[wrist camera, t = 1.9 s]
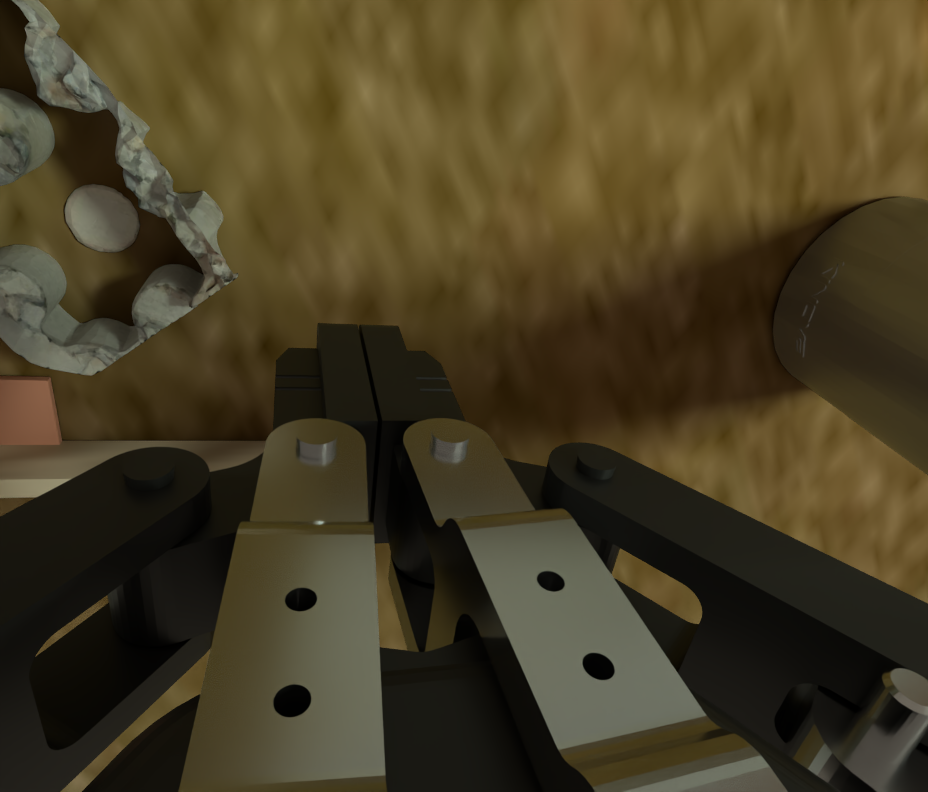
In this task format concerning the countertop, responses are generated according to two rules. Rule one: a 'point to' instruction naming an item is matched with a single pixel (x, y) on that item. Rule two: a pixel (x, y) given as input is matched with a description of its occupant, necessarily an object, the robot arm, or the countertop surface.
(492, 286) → the countertop surface
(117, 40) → the countertop surface
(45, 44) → the egg carton
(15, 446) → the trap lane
